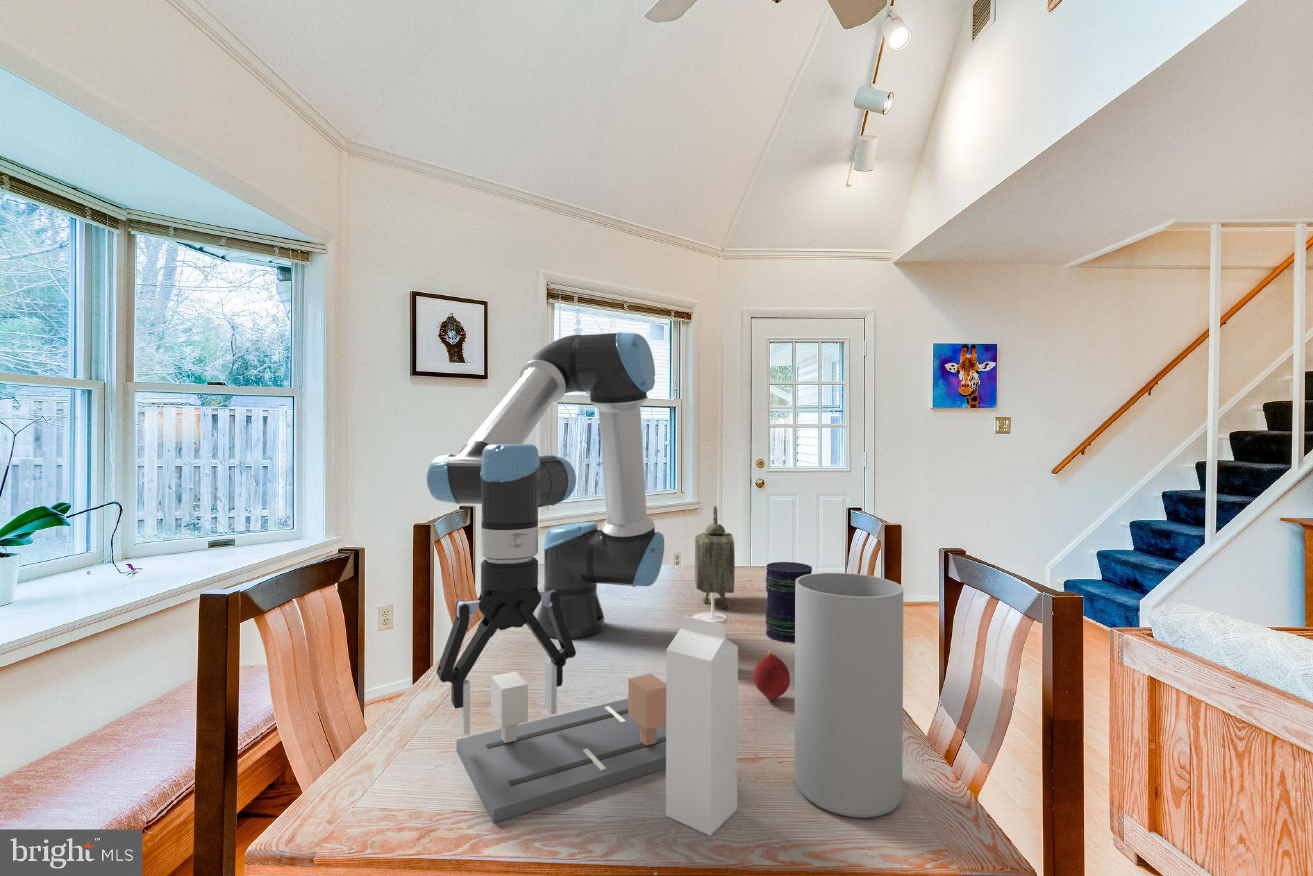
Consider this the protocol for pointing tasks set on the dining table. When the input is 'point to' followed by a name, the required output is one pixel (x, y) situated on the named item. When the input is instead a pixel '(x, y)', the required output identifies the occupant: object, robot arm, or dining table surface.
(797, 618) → the cylinder vase
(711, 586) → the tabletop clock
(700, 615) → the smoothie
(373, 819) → the dining table surface
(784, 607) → the storage jar
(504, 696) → the block
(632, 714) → the fader
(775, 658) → the onion
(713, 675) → the milk
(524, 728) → the console
